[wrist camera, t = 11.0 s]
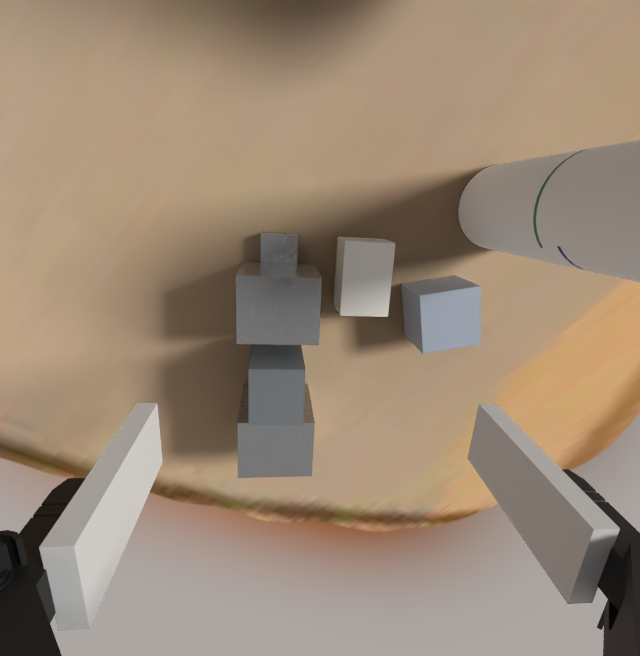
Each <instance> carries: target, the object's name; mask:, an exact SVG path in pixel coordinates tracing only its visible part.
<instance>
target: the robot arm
mask: <svg viewBox="0 0 640 656" xmlns="http://www.w3.org/2000/svg"><path fill="white" fill-rule="evenodd" d="M468 460H469V461H470V462H471V464H472V465H473V467H474V468H475V470H476V471H477V473H478V474H479V476H480V477H481V478H482V480H483V481H484V483H485V484H486V486H487V487H488V489H489V490H490V492H491V493H492V494H493V496H494V497H495V499H496V500H497V502H498V503H499V505H500V506H501V508H502V509H503V510H504V512H505V513H506V515H507V516H508V518H509V519H510V521H511V522H512V523H513V525H514V527H515V528H516V529H517V531H518V532H519V534H520V535H521V537H522V538H523V540H524V541H525V542H526V544H527V545H528V547H529V548H530V550H531V551H532V553H533V554H534V556H535V557H536V559H537V560H538V561H539V563H540V564H541V566H542V567H543V569H544V570H545V572H546V573H547V575H548V576H549V577H550V579H551V580H552V582H553V583H554V585H555V586H556V588H557V589H558V591H559V592H560V594H561V595H562V596H563V598H564V599H565V601H566V602H567V604H574V603H592V602H593V599H594V596H595V594H596V591H597V588H598V587H599V588H600V589H601V591H602V592H603V593H604V594H605V596H606V597H607V598H608V601H607V603H606V606H605V609H604V611H603V613H602V616H601V618H600V621H599V624H598V626H597V628H599V629H602V628H603V626H604V649H603V656H640V533H639V532H638V531H637V530H636V529H635V528H634V527H633V526H632V525H631V524H630V523H629V522H628V521H627V520H625V519H624V517H622V516H621V515H620V514H619V513H618V512H617V511H616V510H615V509H614V508H613V507H612V506H611V505H610V504H609V503H608V502H605V499H604V498H603V497H602V496H601V495H600V494H599V493H596V491H595V489H593V488H592V487H591V486H590V485H589V484H588V483H587V482H586V481H585V480H584V479H583V478H581V477H579V476H578V475H576V474H575V473H573V472H571V471H570V470H568V469H565V470H562V469H561V468H560V467H559V466H558V465H557V464H556V463H555V462H554V461H553V460H552V459H551V458H550V457H549V456H548V455H547V454H546V453H545V452H544V451H543V450H542V449H541V448H540V447H539V446H538V445H537V444H536V443H535V442H534V441H533V440H532V439H531V438H530V437H529V436H528V435H527V434H526V433H525V432H524V431H523V430H522V429H521V428H520V427H519V426H518V425H517V424H516V423H515V422H514V421H513V420H512V419H511V418H510V417H509V416H508V415H507V414H506V413H505V412H504V411H503V410H502V409H501V408H500V407H499V406H498V405H497V404H479V406H478V411H477V415H476V420H475V425H474V430H473V435H472V440H471V445H470V449H469V454H468ZM162 462H163V461H162V450H161V439H160V427H159V416H158V405H157V403H136V405H135V406H134V408H133V409H132V411H131V412H130V414H129V415H128V417H127V418H126V420H125V421H124V423H123V424H122V426H121V427H120V429H119V430H118V431H117V433H116V434H115V436H114V437H113V439H112V440H111V442H110V443H109V445H108V446H107V448H106V449H105V451H104V452H103V454H102V455H101V457H100V458H99V460H98V461H97V463H96V464H95V465H94V467H93V468H92V470H91V471H90V473H89V474H88V476H87V477H86V478H68V479H67V480H66V481H64V482H63V483H61V484H60V485H59V486H57V487H56V488H55V489H53V490H52V491H51V493H50V494H49V495H48V497H47V498H46V499H45V500H44V502H43V503H42V506H41V507H39V508H38V510H37V511H36V513H35V514H34V515H33V518H31V519H30V520H29V521H28V523H27V524H26V525H25V527H24V528H23V529H22V531H21V532H20V533H19V534H18V533H17V532H13V531H9V530H7V531H0V656H61V653H60V650H59V647H58V645H57V642H56V639H55V637H54V634H53V631H52V628H51V625H50V622H51V620H52V619H53V616H54V615H55V619H56V623H57V628H58V630H78V629H90V627H91V625H92V623H93V620H94V618H95V616H96V614H97V611H98V609H99V606H100V604H101V602H102V600H103V597H104V595H105V593H106V591H107V588H108V586H109V584H110V581H111V579H112V577H113V575H114V572H115V570H116V568H117V565H118V563H119V561H120V559H121V556H122V554H123V552H124V549H125V547H126V545H127V542H128V540H129V538H130V536H131V533H132V531H133V529H134V526H135V524H136V522H137V520H138V517H139V515H140V513H141V510H142V508H143V506H144V504H145V501H146V499H147V497H148V494H149V492H150V490H151V488H152V485H153V483H154V481H155V478H156V476H157V474H158V471H159V469H160V467H161V465H162Z"/></svg>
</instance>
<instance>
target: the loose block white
mask: <svg viewBox="0 0 640 656" xmlns="http://www.w3.org/2000/svg"><path fill="white" fill-rule="evenodd" d="M395 244H396V243H394V242H391V241H388V240H386V239H381V238H358V237H338V239H337V255H336V271H335V287H334V306H335V308H336V310H337V311H338V313H339V315H340V316H371V317H388V311H389V301H390V292H391V282H392V273H393V263H394V254H395Z"/></svg>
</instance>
